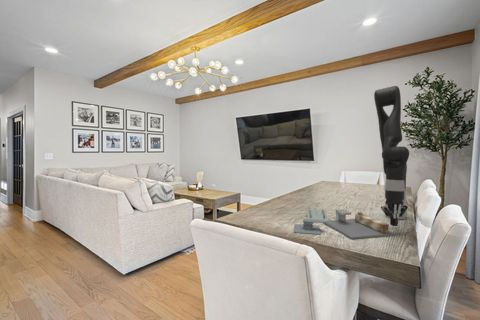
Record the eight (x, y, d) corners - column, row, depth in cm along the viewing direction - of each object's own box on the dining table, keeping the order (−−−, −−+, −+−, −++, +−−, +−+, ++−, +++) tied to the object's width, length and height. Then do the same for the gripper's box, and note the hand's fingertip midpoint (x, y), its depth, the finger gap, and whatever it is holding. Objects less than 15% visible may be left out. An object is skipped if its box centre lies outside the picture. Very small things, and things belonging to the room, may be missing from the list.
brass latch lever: (353, 220, 123) (353, 213, 123) (360, 220, 124) (360, 213, 124) (381, 233, 104) (381, 225, 104) (389, 232, 105) (389, 224, 105)
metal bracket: (302, 205, 140) (328, 206, 137) (302, 214, 142) (328, 215, 139) (304, 219, 127) (333, 220, 124) (304, 228, 128) (332, 229, 125)
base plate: (358, 220, 128) (358, 208, 128) (394, 235, 104) (395, 221, 104) (322, 222, 124) (322, 211, 124) (351, 239, 100) (351, 225, 100)
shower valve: (327, 224, 106) (293, 222, 109) (327, 236, 106) (293, 233, 110) (324, 217, 118) (294, 215, 121) (324, 227, 118) (294, 225, 122)
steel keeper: (343, 220, 125) (343, 209, 124) (351, 224, 118) (351, 212, 118) (335, 221, 124) (335, 210, 124) (343, 224, 117) (343, 213, 117)
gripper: (399, 187, 112) (399, 222, 113) (376, 188, 110) (375, 224, 110) (414, 189, 105) (413, 227, 105) (388, 191, 102) (388, 229, 103)
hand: (393, 225), depth 108 cm, fingers closed
